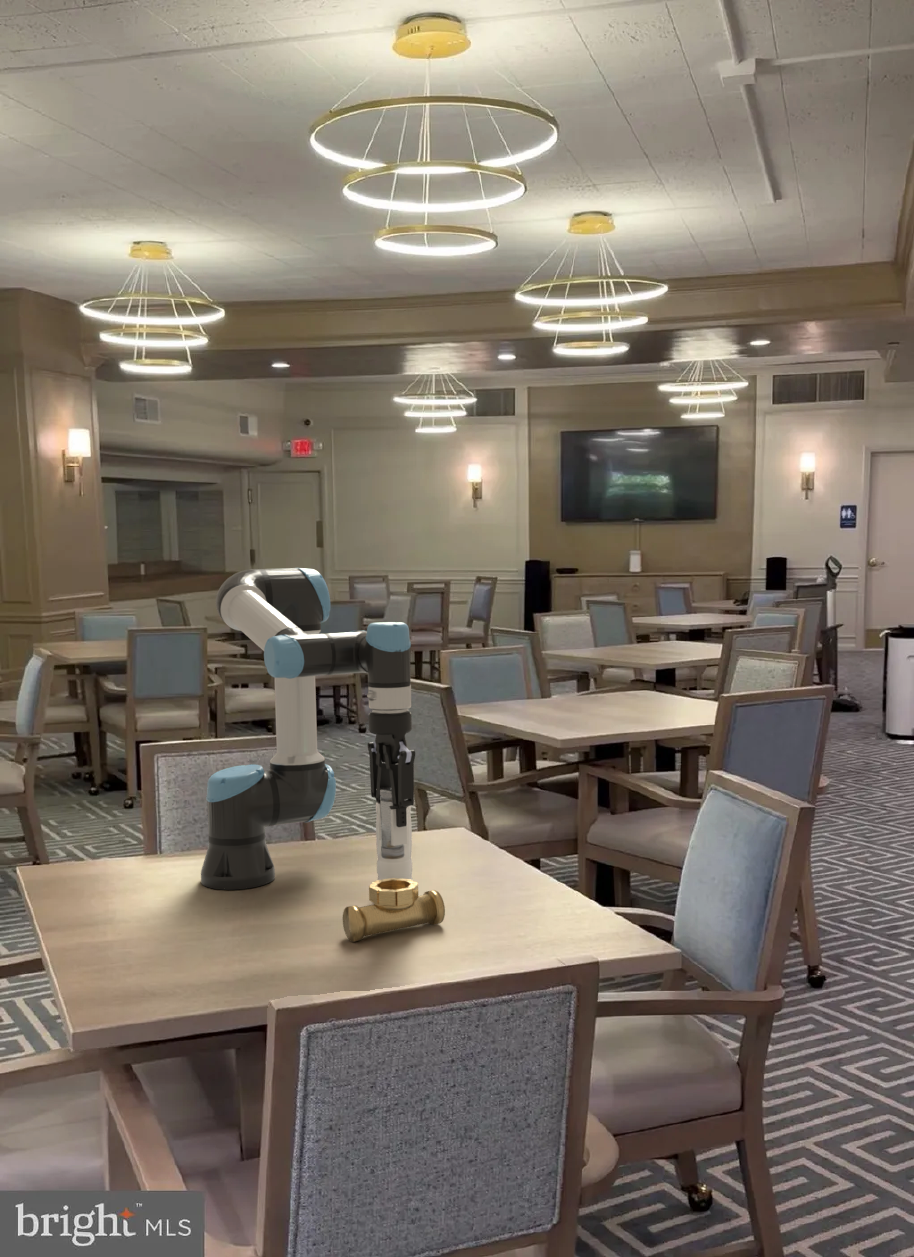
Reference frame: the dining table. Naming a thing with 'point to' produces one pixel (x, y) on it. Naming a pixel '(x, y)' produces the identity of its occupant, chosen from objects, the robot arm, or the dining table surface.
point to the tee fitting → (393, 909)
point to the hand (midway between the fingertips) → (392, 841)
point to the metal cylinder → (388, 827)
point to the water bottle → (395, 866)
